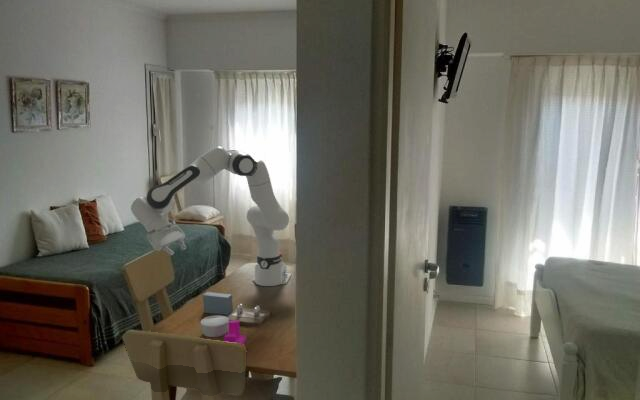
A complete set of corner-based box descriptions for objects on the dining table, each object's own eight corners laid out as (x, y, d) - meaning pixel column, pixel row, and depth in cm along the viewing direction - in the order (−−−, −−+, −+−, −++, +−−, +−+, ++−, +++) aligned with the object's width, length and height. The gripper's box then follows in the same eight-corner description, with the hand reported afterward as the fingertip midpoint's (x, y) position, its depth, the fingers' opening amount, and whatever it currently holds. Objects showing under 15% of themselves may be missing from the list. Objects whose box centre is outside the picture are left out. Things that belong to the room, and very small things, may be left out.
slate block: (208, 309, 235) (207, 291, 234) (232, 312, 231) (232, 294, 230) (203, 312, 231) (203, 294, 230) (228, 315, 228) (227, 297, 226)
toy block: (242, 356, 190) (242, 336, 188) (225, 356, 189) (224, 337, 188) (246, 338, 204) (245, 320, 203) (230, 339, 204) (229, 320, 203)
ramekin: (222, 325, 217) (221, 312, 216) (234, 333, 208) (234, 321, 208) (196, 332, 211) (195, 319, 210) (208, 341, 202) (207, 328, 201)
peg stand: (239, 310, 233) (238, 298, 232) (272, 314, 228) (272, 302, 227) (223, 322, 219) (223, 310, 219) (258, 327, 214) (258, 314, 214)
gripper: (148, 228, 223) (169, 252, 222) (175, 219, 242) (195, 241, 241) (140, 238, 225) (161, 262, 224) (167, 228, 244) (187, 250, 243)
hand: (179, 251), depth 233 cm, fingers open, 8 cm apart
